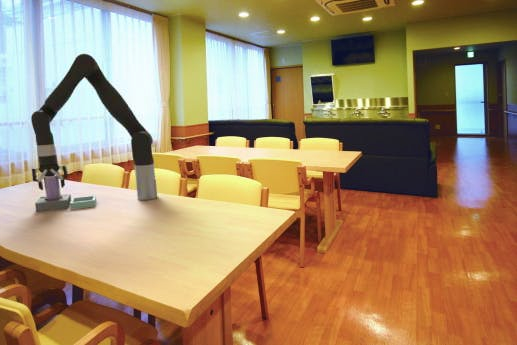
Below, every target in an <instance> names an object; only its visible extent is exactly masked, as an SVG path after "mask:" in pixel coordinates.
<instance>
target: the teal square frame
mask: <svg viewBox="0 0 517 345" xmlns="http://www.w3.org/2000/svg"><path fill="white" fill-rule="evenodd" d="M96 205H97V195H96V194H95V195H87V196H76V197H71V202H70V206H69V208H70V210H77V209H83V208H84V209H85V208H93V207H94V208H95V207H96Z"/></svg>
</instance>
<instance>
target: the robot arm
mask: <svg viewBox="0 0 517 345" xmlns="http://www.w3.org/2000/svg"><path fill="white" fill-rule="evenodd" d="M101 69H102V68H100V66H99V64H98V62H97V61H96V59H95V58H94V57H93V56H92V55H90V54H88V53H81V54H78V55H76V57H75V59H74V61H73V62H72V64H71V65H70V68H69V70H68V71H67V72H66V74H65V76H64V77H63V78H62V79H61V81H60V82H59V84H58V85H57V86H56V87H55V88H54V89H53V91H51V93H50V94H49V95H48V96H47V98H46V99H45V100H44V103H43V104H42V106H41V107H40V108H39V110H36V111H34V112H33V113H32V114H31V115H30V116H31V117H30V118H31V125H32V129H33V131H34V135H35V136H34V137H35V142H36V154H37V160H38V165H39V167H38V168H37V167H33V168H31V175H32V182H36V183H37V184H38V188H39V190H40V191H43V190H44V185H43V183H44V182H43V181H42V180H44V176H46V177H47V176H54V175H56V176H57V177H58V179H60V180H59V182H60V186H61V187H60V189H61V188H62V189H63V188H64V187H65V185H66V183H65V179H67V178H69V174H68V169H67V165H66V164H64V165H59V162H58V158H57V157H58V154H57V150H56V146H55V141H54V135H53V133H52V131H51V125H50V124H51V122H53V120H54V118H56V116H57V114H58V113H59V111H61V109H62V108H63V107H64V106H65V105H66V103H68V102H69V100H70V99H71V97H72V95H73V93H74V91H75V89H76V87H78V85H79V84H80V83H81V81H82V80H83V79H86V80H87V81H88V83H89V85H91V87H93V89H94V90H95V92H96V94H97V97H98V98H99V100H100V102H101V104H102V105H103V106H104V108H105V110H106V111H108V113H109V114H110V115H111V117H112V118H113V119H114V120H115V121H116V122H118V123H119V124H120V125H121V126H122V127H123V128H124V129H125V131H127V133H128V134H129V136H130V137H131V139H130V144H131V154H132V160H133V163H134V174H135V175H134V176H135V184H136V197H137V200H138V201H149V200H154V199H158V189H157V187H158V186H157V179H156V173H155V170H156V169H155V163H154V162H155V161H154V156H153V151H152V150H153V149H152V146H153V137H152V135H151V134H150V133H149V131H148V130H147V129H146V128H145V127H144V125H142V124H141V122H140V121H139V120H138V119H137V117H136V114H134V112H133V110H132V109H131V108H130V107H131V106H129V104H128V102H126V100H125V99H124V97H123V96H122V95H121V93H120V92H119V91H118V90H117V88H115V87H114V86H113V85H112V84H111V82H109V80H108V79H107V78H106V76H105V75H104V73H103V71H102V70H101ZM60 170H61V171H62V172H63V175H62V174H61V173H60V172H59V171H60ZM38 172H40V173H41V174H40V176H39V178H38V177H37V173H38Z"/></svg>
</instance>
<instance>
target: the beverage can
mask: <svg viewBox="0 0 517 345" xmlns="http://www.w3.org/2000/svg"><path fill="white" fill-rule="evenodd" d="M59 179H60V178H59V177H57V176H56V175H54V176H47V177H46V176H44V177H43V181H44V182H43V183H44V189H45V196H46V197H47V201H51V200H58V199H61V195H62V193H61V187H60V186H61V185H60V180H59Z"/></svg>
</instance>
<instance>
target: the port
mask: <svg viewBox="0 0 517 345" xmlns="http://www.w3.org/2000/svg"><path fill="white" fill-rule="evenodd" d="M71 200H72V195H71V193H67V194H61V199H58V200H51V201H47V197H46V195H45V196H40V197H39V198H38V199H37V200H36V202H35V203H34V205H35V212H36V213H41V212H48V211H57V210H65V209H69V208H70V202H71Z"/></svg>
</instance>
